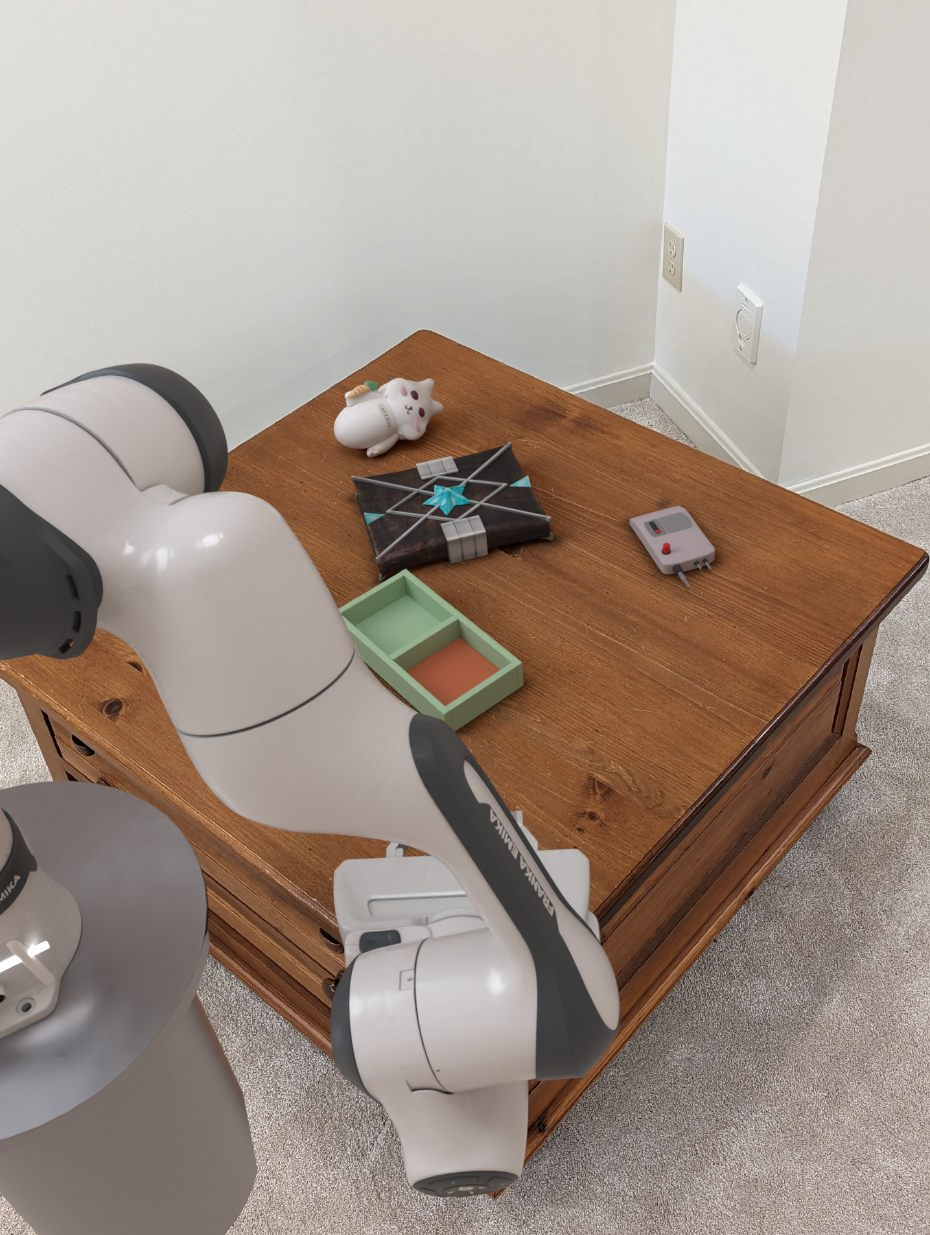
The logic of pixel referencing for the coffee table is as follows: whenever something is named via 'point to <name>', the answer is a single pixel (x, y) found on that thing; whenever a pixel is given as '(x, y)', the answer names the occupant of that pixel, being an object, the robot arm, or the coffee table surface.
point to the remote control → (674, 541)
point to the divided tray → (430, 650)
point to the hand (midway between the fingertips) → (461, 817)
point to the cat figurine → (385, 414)
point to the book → (449, 509)
